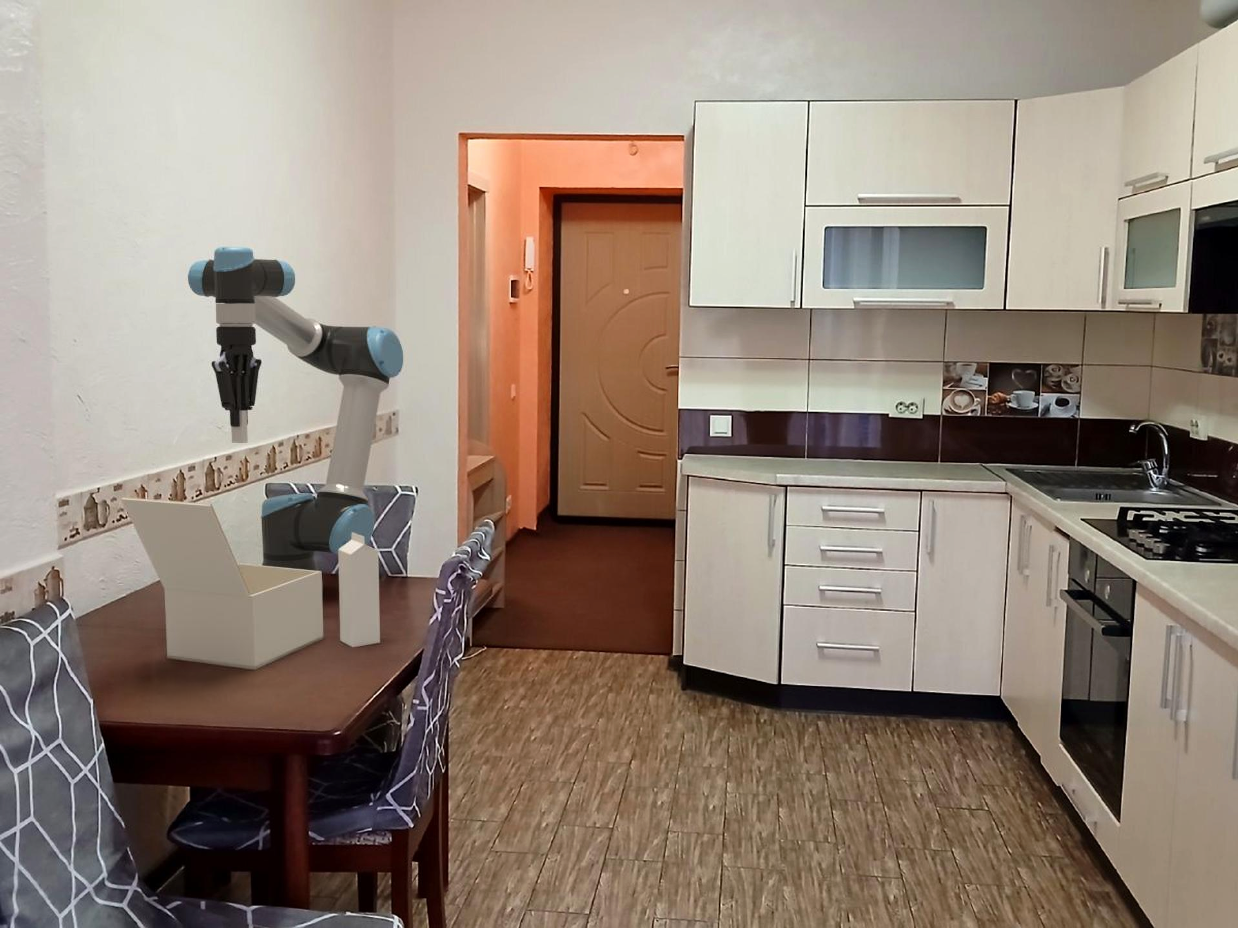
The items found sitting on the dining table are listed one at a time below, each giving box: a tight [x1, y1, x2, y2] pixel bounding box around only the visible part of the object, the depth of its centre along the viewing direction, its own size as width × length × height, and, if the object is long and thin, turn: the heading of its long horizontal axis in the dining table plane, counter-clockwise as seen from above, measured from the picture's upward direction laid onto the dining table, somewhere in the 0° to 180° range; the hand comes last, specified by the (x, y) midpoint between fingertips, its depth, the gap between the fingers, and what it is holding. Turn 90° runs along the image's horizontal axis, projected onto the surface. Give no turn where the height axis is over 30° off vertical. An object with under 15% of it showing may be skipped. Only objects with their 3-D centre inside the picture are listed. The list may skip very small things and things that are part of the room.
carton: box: [163, 563, 324, 671], centre depth 228 cm, size 22×20×14 cm
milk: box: [337, 532, 381, 648], centre depth 233 cm, size 6×6×22 cm
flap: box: [120, 496, 250, 597], centre depth 211 cm, size 21×19×1 cm
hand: (239, 442), depth 236 cm, fingers closed
